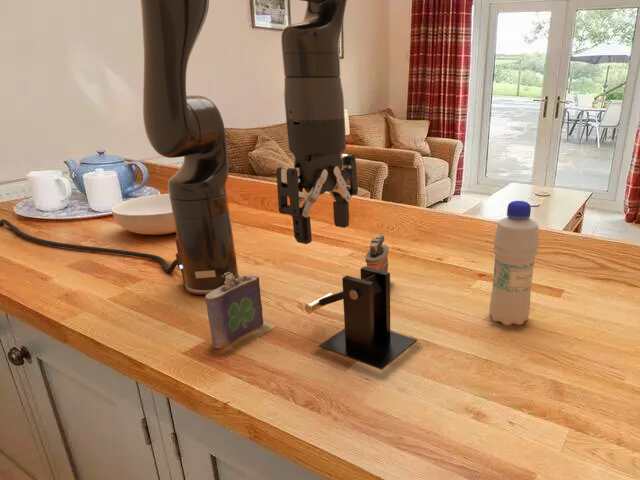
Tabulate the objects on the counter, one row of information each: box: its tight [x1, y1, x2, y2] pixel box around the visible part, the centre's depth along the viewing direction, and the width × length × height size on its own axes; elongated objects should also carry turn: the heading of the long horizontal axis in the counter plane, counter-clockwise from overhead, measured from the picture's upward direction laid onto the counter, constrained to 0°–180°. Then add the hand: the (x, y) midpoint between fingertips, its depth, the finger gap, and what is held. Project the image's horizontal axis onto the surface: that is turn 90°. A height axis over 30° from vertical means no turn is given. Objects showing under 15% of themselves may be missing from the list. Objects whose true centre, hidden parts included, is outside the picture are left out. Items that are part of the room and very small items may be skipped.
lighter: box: [364, 233, 390, 272], centre depth 89 cm, size 8×3×10 cm, turn 168°
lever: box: [304, 274, 382, 314], centre depth 70 cm, size 12×5×2 cm, turn 58°
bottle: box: [489, 200, 540, 326], centre depth 75 cm, size 7×7×20 cm
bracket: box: [318, 266, 418, 370], centre depth 69 cm, size 11×9×12 cm
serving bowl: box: [110, 193, 176, 236], centre depth 122 cm, size 21×21×7 cm
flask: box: [204, 272, 264, 349], centre depth 71 cm, size 9×3×11 cm, turn 151°
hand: (323, 234), depth 70 cm, fingers open, 8 cm apart
